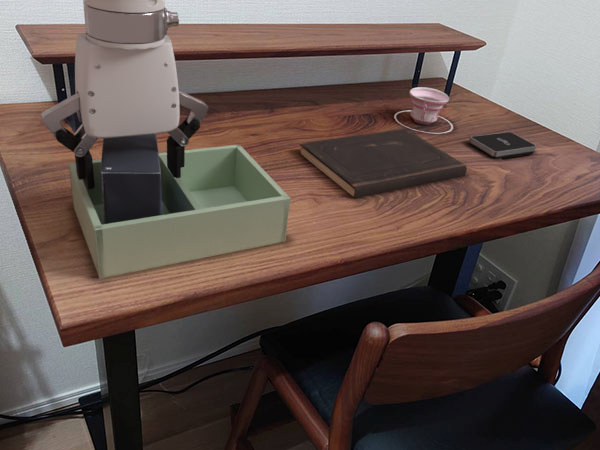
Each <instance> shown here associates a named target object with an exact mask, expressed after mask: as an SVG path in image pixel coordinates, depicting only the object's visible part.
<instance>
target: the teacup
mask: <svg viewBox="0 0 600 450" xmlns="http://www.w3.org/2000/svg"><path fill="white" fill-rule="evenodd" d="M408 93H409V97H410V99H411V104H412V108H411V109H407V110H401V111H398V112H395V114H394V116H393V117H394V118H393V119H395V121H396V122H397V124H399V125H401V126H403V127H404V128H406V129H407V128H408V129H409V130H413V131H416V132H419V133H425V134H430V132H429V131H424V130H418V129H414V128H412V127H409V126H406V125H405V124H403V123H402V122H400V121H399V120H398V119H397V115H399V114H402V113H404V112H410V117H411V118H412V119H413V121H414V122H415V123H417V124H419V125H424V126H430V125H431V124H432V123H436V122H437V121H438V118H440V119H443V120H444V121H446V122H447V123H448V124H449V125H450V129H449V130H447V131H443V132H432V134H434V135H441V134H447V133H450V132H452V131H453V130H454V124H453V123H452V122H451V121H449V120H448V119H447V118H445V117H443V116H441V115H439V113H440V112H441V110H443V109H444V106H445V105H446V104H447V103H449V101H450V97H449V95H448V94H447V93H445V92H443V91H442V90H439V89H436V88H432V87H426V86H424V87H423V86H418V87H413V88H411V89H410V90H409V92H408Z"/></svg>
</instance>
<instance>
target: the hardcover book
mask: <svg viewBox="0 0 600 450" xmlns="http://www.w3.org/2000/svg"><path fill="white" fill-rule="evenodd" d="M299 146H300V147H301V149H300V155H302V156H303V157H304V158H305V159H307V160H308V161H309V162H310V163H311V164H312V165H314V166H315V167H316V168H318V169H319V170H320V171H321V172H322V173H323V174H325V176H327V177H328V178H330V179H331V180H332V181H333V182H334V183H336V184H337V185H338V186H339V187H341V188H342V189H343V190H344V191H346V193H348V194H349V195H350V196H352V197H353V199H354V200H355V199H359V198H364V197H368V196H374V195H378V194H383V193H387V192H388V193H389V192H393V191H398V190H403V189H407V188H412V187H418V186H422V185H428V184H432V183H437V182H441V181H446V180H451V179H456V178H461V177H465V176H466V173H467V169H468V168H467V165H466V164H465V163H463V162H461V161H460V160H458V159H456V158H455V157H454V156H451V155H450V154H448V153H446V152H445V151H443V150H441V149H440V148H438V147H436V146H435V145H433V144H432V143H430V142H428V141H427V140H425V139H423V137H420V136H418V135H417V134H415V133H413V132H412V131H410V130H408V129H407V128H402V129H393V130H388V131H381V132H373V133H366V134H358V135H357V134H356V135H350V136H344V137H336V138H328V139H322V140H315V141H308V142H307V141H306V142H299Z"/></svg>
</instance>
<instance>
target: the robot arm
mask: <svg viewBox="0 0 600 450" xmlns="http://www.w3.org/2000/svg"><path fill="white" fill-rule="evenodd" d="M82 3H83V14H84V15H83V16H84V27H85V32H81V33H78V34H77V37H76V43H75V55H74V87H75V88H74V89H75V94H72V95H70V96H69V97H67V98H65V99H63V100H62V101H60V102H58V103H56V104H54V105H52V106H51V107H49V108H47V109H45V110H44V111H42V112H41V114H40V117H41V120H42V122H43V124H44V125H45V127H46V128H47V129H48V130H49V132H50V133H51V134H52V135H53V136H54V138H55V140H56V141H57V142H58V143H59V144H61V145H62V146H64V147H65V148H67V149H68V150H70V152H73V153H74V160H75V161H74V162H76V171H77V176H78V179H79V180H82V179H84V181H85V184H86V186H87V188H88V189H93V188H94V187H95V184H94V172H93V161H92V160H93V156H92V154H91V151H90V149H91V148H92V147H93V145H94V144H95V143H96V142H97V141H98V140H99V139H103V138H116V137H128V136H139V135H150V134H156V135H159V134H168V135H169V136H168V137H167V139H166V152H167V168H168V169H169V171H170V172H171V174H172V175H173V177H175V178H180V177H181V168H182V167H184V164H185V150H186V146H188V144H189V142H190V139H191V138H192V137H193V136H194V135H195V134H196V133H197V132H198V131H199V129H200V128H201V123H202V122H203V121H204V118H205V117H206V115H207V112H209V106H208V105H207V104H206V103H205V101H203V100H201V99H199V98H197V97H194V96H192V95H190V94H188V93H186V92H184V91H181V90H179V81H178V73H177V72H178V71H177V65H176V58H175V53H174V48H173V43H172V40H171V38H170V37H169V35H168V30H169V28H172V27H178V26H179V24H180V17H179V13H178V12H177V11H176V12H173V11H171V10H168V9H167V8H166V5H165V4H166V0H82ZM180 106H181V107H184V108H186V109H188V110H190V112H189V115H188V116H187V117H186V118H185V119H184V120H182V122H181V123H180V117H181V115H180V114H181V113H180V112H181V107H180ZM74 114H77V119H78V122H79V123H81V124H80V126H79V127H78V128H77V129H76V131H75V132H74V133H73V132H71V131H70V130H69V129H68V128H65V126H64V125H63V124H62V121H63V120H65V119H67V118H69V117H71V116H72V115H74Z"/></svg>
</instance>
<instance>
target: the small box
mask: <svg viewBox="0 0 600 450" xmlns="http://www.w3.org/2000/svg"><path fill="white" fill-rule="evenodd" d="M158 145H159V144H158V138H157V134H150V135H139V136H128V137H116V138H102V146H101V147H102V149H101V159H102V160H101V187H102V200H103V213H104V224H109V223H116V222H122V221H128V220H135V219H141V218H147V217H153V216H160V215H162V185H161V169H160V161H159V153H160V152H159V146H158Z"/></svg>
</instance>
